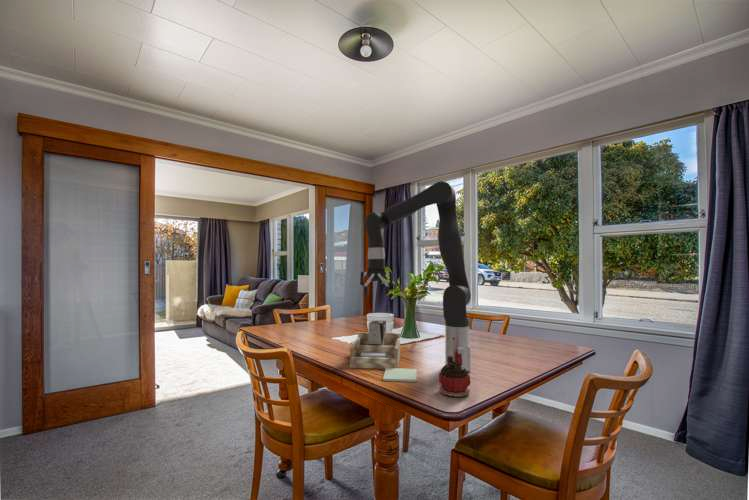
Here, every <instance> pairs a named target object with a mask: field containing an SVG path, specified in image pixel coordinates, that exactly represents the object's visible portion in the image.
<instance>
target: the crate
mask: <svg viewBox="0 0 749 500" xmlns="http://www.w3.org/2000/svg"><path fill="white" fill-rule="evenodd" d="M362 352H363V353H386V358H371V357H361V353H362ZM400 359H401V333H400V332H386V346H379V345H369V332H368V331H367V332H365V331H364V332H363V331H362V332H359V331H358V332H357V338H356V339H355V340H354V342H353V343H352V344H351V346H350V347H349V368H350V369H353V368H354V369H355V368H356V369H381V370H383V369H384V370H385V369H386V368H399V366H400V365H399V364H400Z"/></svg>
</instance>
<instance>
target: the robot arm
mask: <svg viewBox="0 0 749 500" xmlns="http://www.w3.org/2000/svg"><path fill="white" fill-rule="evenodd" d="M456 200H457V196H456V190H455V188H454V187H453V186H452V185H451V184H450V183H449V182H447V181H445V180H439V181H437V182H435V183H433V184H431V185H430V186H428V187H427V188H426V189H423V190H422V191H420V192H419V193H417V194H415V195H413V196H411V197H409V198H407V199H404V200H402V201H400V202H397V203H396V204H393V205H391V206H388V207H387V208H385V211H383V212H380V213H379V212H370V213H368V214H367V216H366V219H365V229H366V233H367V238H368V239H367V240H368V242H367V245H368V250H367V271H360V281H359V283H360V284H359V285H360V286H363V287H364V295H366V296H369V284H370V283H371V282H382V283H383V284H384V285H385V290H384V291H385V296H388V294H390V287H391V286H393V283H394V280H393V271H392V270H391V271H386V251H385V237H384V235H383V234H382V229H385V228H387V227H389V226H391V225H392V224H394V223H396V222H398V221H401V220H403V219H406V218H408V217H410V216H412V215H413V214H415V213H416V212H417V211H419V210H421V209H423V208H425V207H427V206H431V205H436V208H437V212H438V219H439V222H438V231H437V233H438V234H437V240H438V248H439V253H440V257H441V260H442V262H443V265H444V266H445V269H446V271H447V275H448V284H449V286H447V287H446V288H445V289H444V291H443V294H442V313H443V319H444V321H445V322H444V323H445V324H444V325H445V329H444V330H445V331H444V332H445V333H444V335H445V340H444V344H445V353H444V355H445V362H444V363H445V364H444V365H448V361H447V357H448V356H453V340H452V337H455V351H456V348H464V354H462V363H463V365H464V368H465V369H466V370H467V373H468V372H471V346H470V319H469V318H468V315H467V305H468V304H469V303H470V301H471V296H472V295H471V294H472V293H471V289H470V286H469V282H468V278H467V273H466V266H465V258H464V257H465V256H464V248H463V247H464V246H463V241H462V235H461V229H460V224H459V220H458V217H457V201H456ZM366 275H367V276H368V279H367V280H366V282H365V277H366ZM385 276H387V277H389V282H388V281H387V280H386V278H385Z"/></svg>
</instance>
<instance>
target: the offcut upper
mask: <svg viewBox="0 0 749 500" xmlns="http://www.w3.org/2000/svg"><path fill="white" fill-rule="evenodd" d="M361 357H371V358H386V353H363V352H362V353H361Z"/></svg>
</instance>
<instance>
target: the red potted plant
mask: <svg viewBox="0 0 749 500" xmlns="http://www.w3.org/2000/svg"><path fill="white" fill-rule="evenodd" d="M452 340H453V356H448V357H447V361H448V365H446V364H444V365H443V366H442V367H441V369H440V371H439V373H438V383H440V386H439V388H438V391H439V392H440V393H441V394H443V395H447V396H452V397H463V396H467V395H469V394H470V391H471V389H470V388H469V387H470V385H471V376H470V374H469V373H468V372H467V370H466V369H465V368H464V365H463V363H462V354H464V348H456V351H455V337H452Z"/></svg>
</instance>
